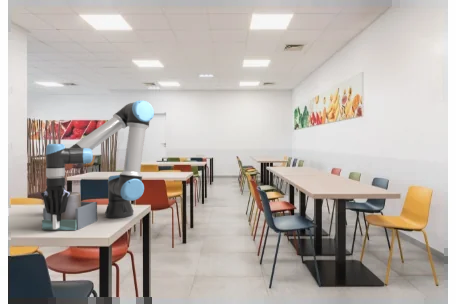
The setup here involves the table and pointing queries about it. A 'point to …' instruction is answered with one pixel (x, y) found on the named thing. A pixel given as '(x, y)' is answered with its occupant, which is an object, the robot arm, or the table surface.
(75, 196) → the pillar candle
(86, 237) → the table surface
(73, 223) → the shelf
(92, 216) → the cradle
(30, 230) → the table surface
